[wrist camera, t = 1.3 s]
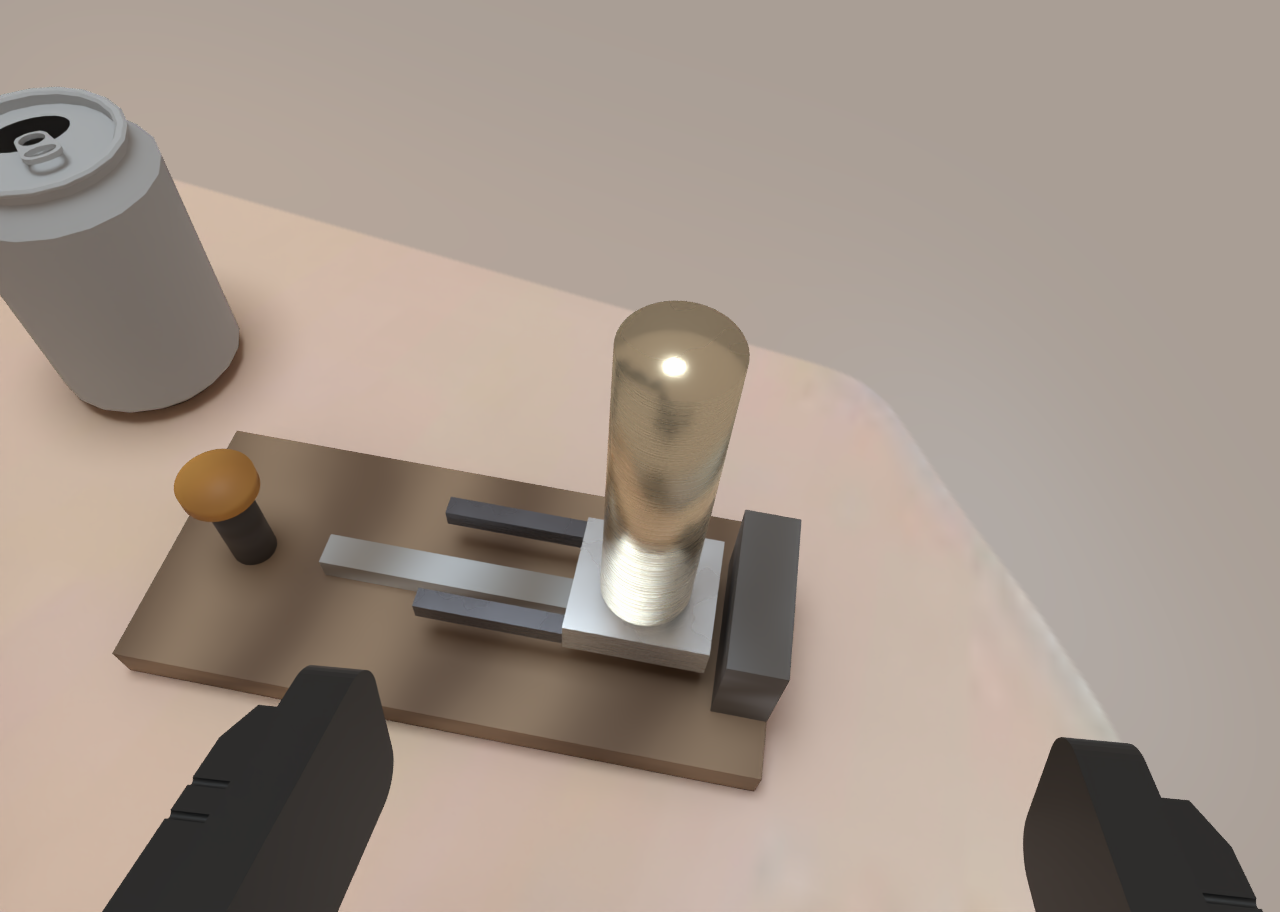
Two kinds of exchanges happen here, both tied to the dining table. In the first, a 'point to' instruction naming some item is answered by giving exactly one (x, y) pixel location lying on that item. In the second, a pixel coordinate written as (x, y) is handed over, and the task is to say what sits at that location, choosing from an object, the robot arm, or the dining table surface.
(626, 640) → the slider
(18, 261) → the can
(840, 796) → the dining table surface
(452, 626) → the track
